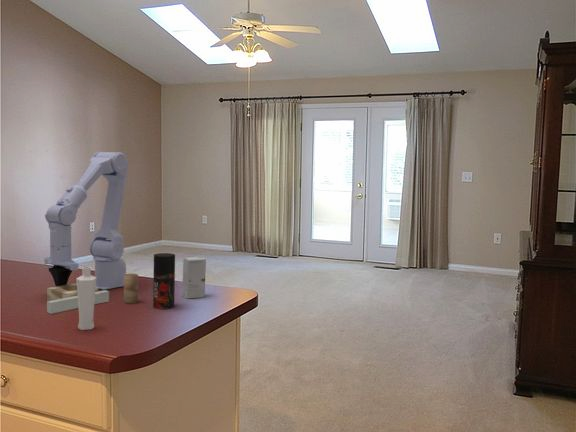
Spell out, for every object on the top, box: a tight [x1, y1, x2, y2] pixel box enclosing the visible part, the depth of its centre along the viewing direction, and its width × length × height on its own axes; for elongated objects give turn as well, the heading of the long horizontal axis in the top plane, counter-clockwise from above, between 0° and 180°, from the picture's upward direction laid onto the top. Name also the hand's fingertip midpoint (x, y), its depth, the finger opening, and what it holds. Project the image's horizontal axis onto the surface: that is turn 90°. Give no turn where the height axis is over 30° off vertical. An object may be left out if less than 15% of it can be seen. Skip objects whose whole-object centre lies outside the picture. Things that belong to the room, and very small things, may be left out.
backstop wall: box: [46, 289, 110, 315], centre depth 146 cm, size 18×2×3 cm, turn 145°
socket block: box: [46, 282, 99, 302], centre depth 151 cm, size 10×10×4 cm
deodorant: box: [152, 252, 176, 310], centre depth 149 cm, size 6×6×15 cm
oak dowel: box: [122, 273, 139, 304], centre depth 153 cm, size 4×4×8 cm
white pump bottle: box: [75, 266, 96, 331], centre depth 127 cm, size 5×4×15 cm
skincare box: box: [181, 256, 207, 299], centre depth 162 cm, size 6×4×12 cm
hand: (61, 290), depth 154 cm, fingers closed
